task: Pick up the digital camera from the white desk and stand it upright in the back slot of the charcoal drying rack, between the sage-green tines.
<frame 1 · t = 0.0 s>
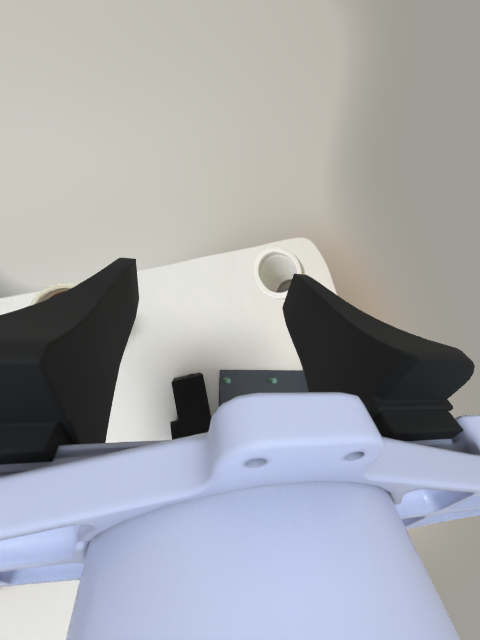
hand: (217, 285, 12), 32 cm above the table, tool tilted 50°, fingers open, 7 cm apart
digital camera: (188, 407, 42), on the table
character mug: (100, 329, 41), on the table
rack: (266, 415, 44), on the table
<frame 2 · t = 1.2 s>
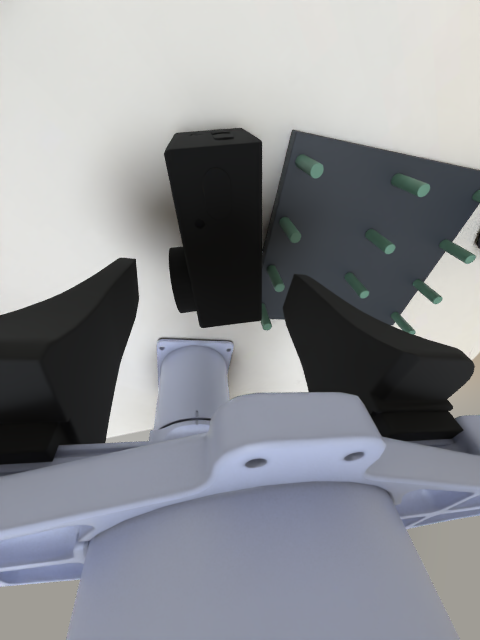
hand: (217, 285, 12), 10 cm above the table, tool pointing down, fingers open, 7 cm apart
digital camera: (208, 213, 20), on the table
rack: (353, 250, 23), on the table
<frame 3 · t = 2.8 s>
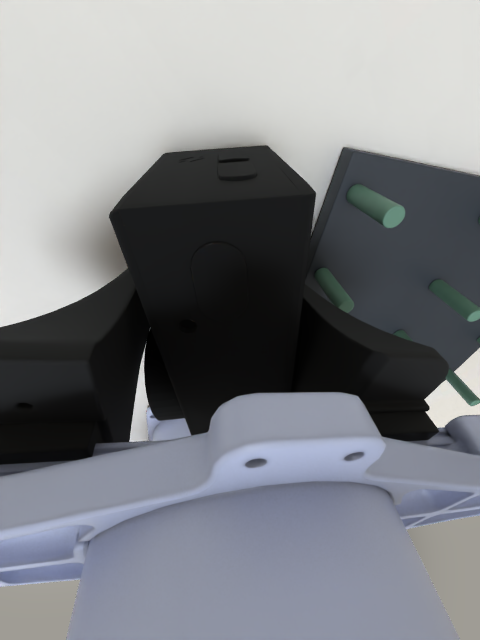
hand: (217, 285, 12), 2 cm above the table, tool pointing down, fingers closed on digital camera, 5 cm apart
digital camera: (214, 262, 14), on the table, touching gripper
rack: (405, 301, 17), on the table
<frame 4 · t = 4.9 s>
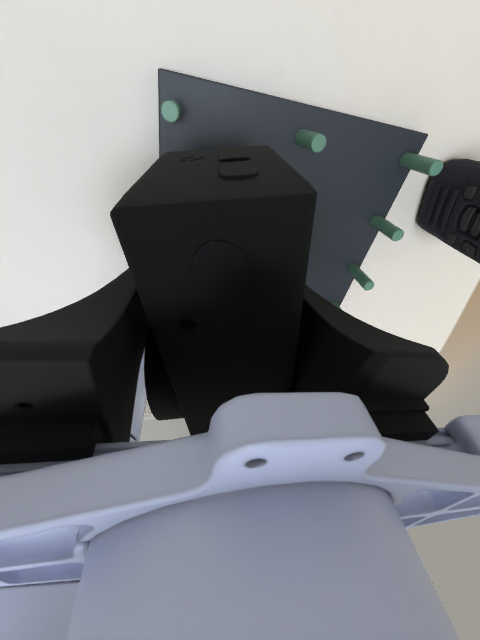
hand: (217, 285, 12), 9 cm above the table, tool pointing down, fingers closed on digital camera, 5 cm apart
digital camera: (214, 261, 14), point 7 cm above the table, touching gripper
rack: (272, 228, 20), on the table
two-way radio: (444, 193, 20), on the table
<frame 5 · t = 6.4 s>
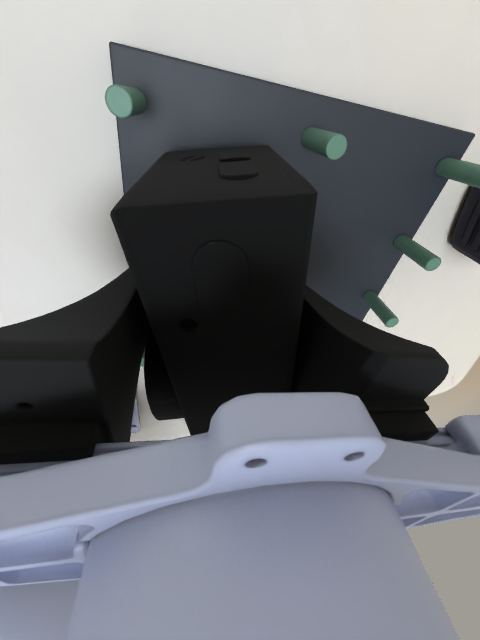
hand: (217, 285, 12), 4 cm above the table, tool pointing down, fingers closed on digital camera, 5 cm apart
digital camera: (214, 261, 14), point 2 cm above the table, touching gripper
rack: (271, 251, 16), on the table
when the fingers open (3 cm above the table, at t = 7.3 s): digital camera stays where it is, resting on rack.
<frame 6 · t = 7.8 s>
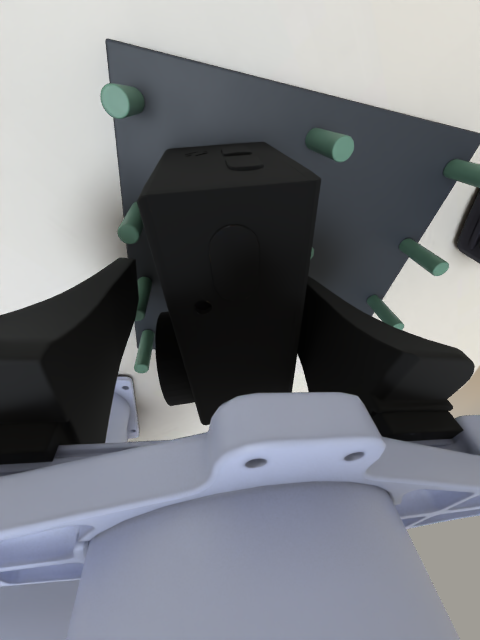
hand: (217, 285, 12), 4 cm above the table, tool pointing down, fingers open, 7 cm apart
digital camera: (213, 254, 14), point 1 cm above the table, touching rack
rack: (273, 255, 16), on the table
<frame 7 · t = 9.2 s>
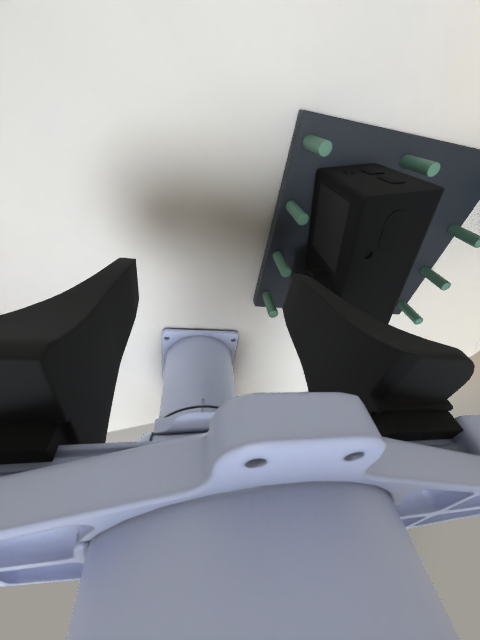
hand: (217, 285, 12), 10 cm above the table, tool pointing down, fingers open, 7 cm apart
digital camera: (324, 235, 22), point 1 cm above the table, touching rack
rack: (359, 236, 23), on the table
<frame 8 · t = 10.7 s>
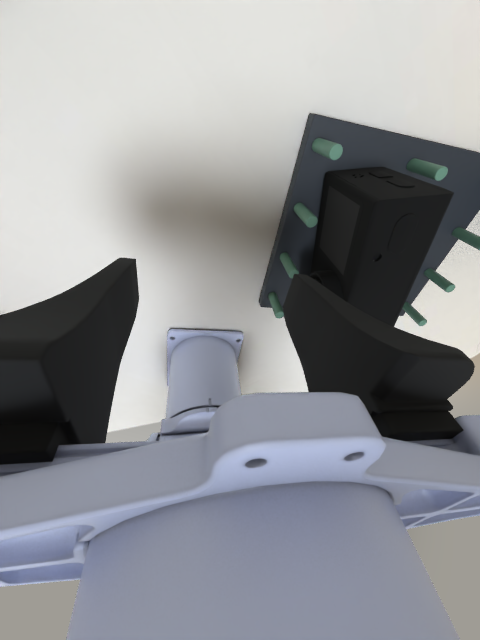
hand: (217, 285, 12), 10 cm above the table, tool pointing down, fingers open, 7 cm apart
digital camera: (331, 237, 22), point 1 cm above the table, touching rack
rack: (365, 238, 23), on the table
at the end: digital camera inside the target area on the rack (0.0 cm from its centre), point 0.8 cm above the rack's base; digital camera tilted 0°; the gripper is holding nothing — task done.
